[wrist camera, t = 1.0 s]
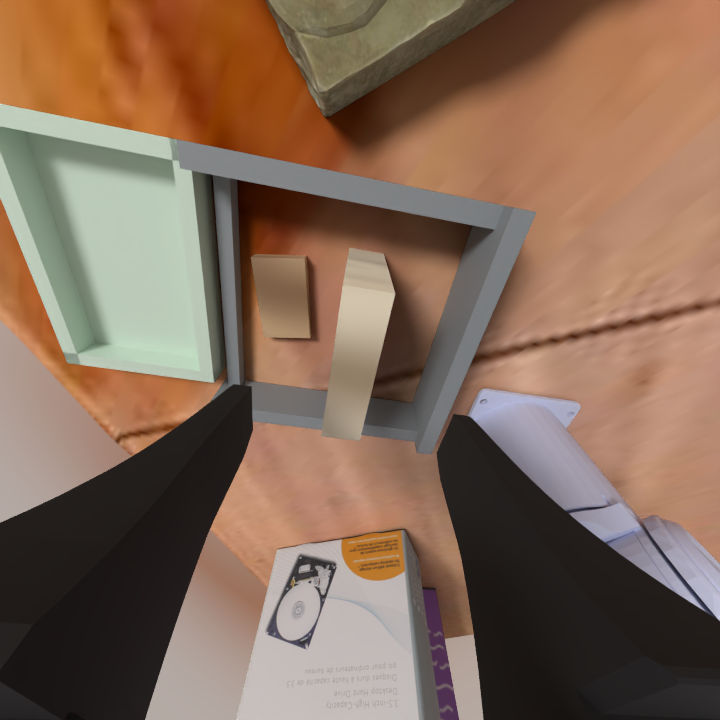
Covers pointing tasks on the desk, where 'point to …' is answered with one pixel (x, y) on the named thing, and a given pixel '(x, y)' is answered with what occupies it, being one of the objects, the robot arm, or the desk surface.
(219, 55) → the desk surface
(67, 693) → the robot arm
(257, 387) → the grey shallow square frame
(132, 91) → the desk surface
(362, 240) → the desk surface
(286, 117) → the desk surface
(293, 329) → the offcut
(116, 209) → the tray
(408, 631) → the hard drive box
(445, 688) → the cereal box
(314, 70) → the decorative tile
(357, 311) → the panel
